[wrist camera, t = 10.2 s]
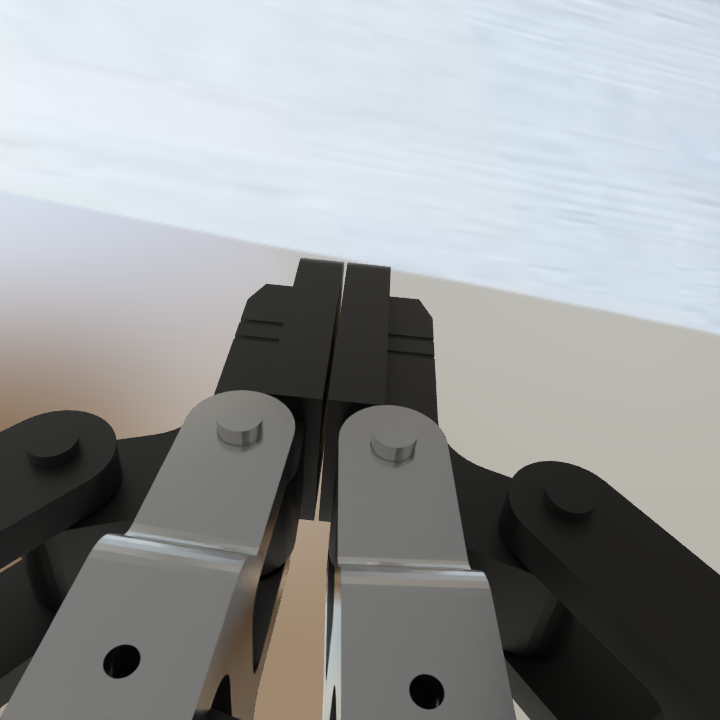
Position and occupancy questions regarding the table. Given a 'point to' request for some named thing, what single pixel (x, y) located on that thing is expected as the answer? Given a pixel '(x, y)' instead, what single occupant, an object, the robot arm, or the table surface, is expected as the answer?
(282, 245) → the table surface
